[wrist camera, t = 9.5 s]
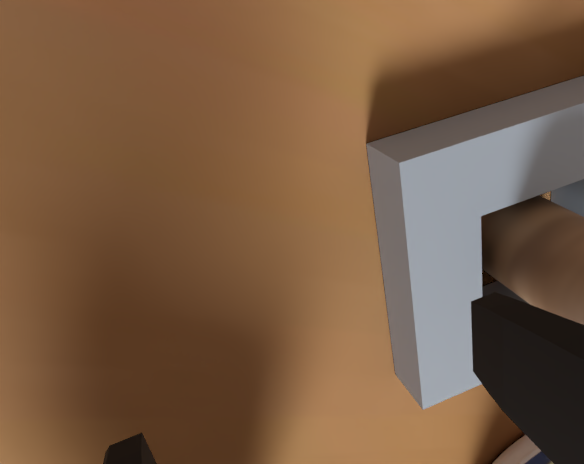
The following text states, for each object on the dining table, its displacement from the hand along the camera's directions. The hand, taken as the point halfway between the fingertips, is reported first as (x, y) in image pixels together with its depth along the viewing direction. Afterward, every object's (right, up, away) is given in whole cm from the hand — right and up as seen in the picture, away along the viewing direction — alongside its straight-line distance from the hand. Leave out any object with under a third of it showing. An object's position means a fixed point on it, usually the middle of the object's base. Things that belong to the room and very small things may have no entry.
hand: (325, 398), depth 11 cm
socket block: (+9, +3, +13) cm, 16 cm away
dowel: (+9, +4, +13) cm, 16 cm away
